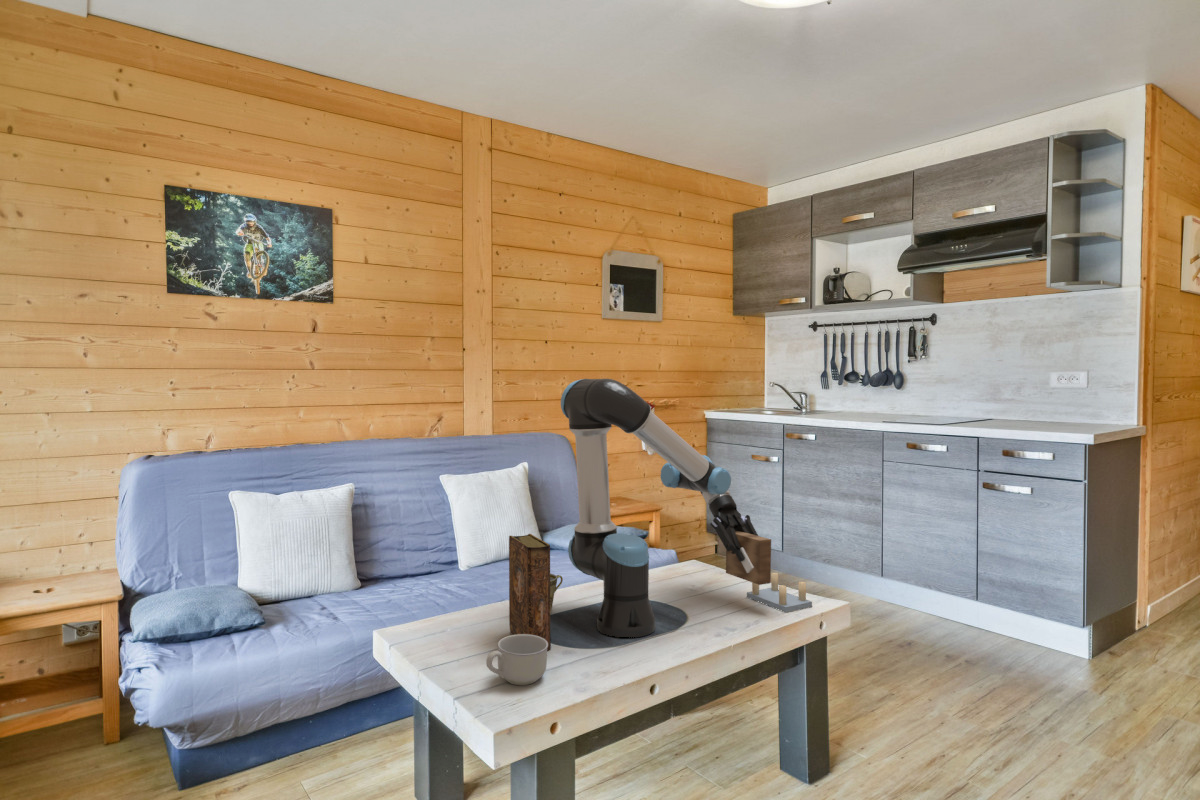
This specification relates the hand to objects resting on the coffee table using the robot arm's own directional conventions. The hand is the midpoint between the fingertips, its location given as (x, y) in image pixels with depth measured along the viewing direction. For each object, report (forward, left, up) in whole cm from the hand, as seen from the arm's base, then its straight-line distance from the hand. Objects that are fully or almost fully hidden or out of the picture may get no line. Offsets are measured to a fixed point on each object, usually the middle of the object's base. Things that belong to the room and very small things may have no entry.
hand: (757, 569), depth 191 cm
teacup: (-30, -69, -12) cm, 77 cm away
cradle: (+3, +12, -12) cm, 17 cm away
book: (-41, -49, -12) cm, 66 cm away
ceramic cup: (-51, -29, -12) cm, 60 cm away
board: (-3, +2, -3) cm, 5 cm away
